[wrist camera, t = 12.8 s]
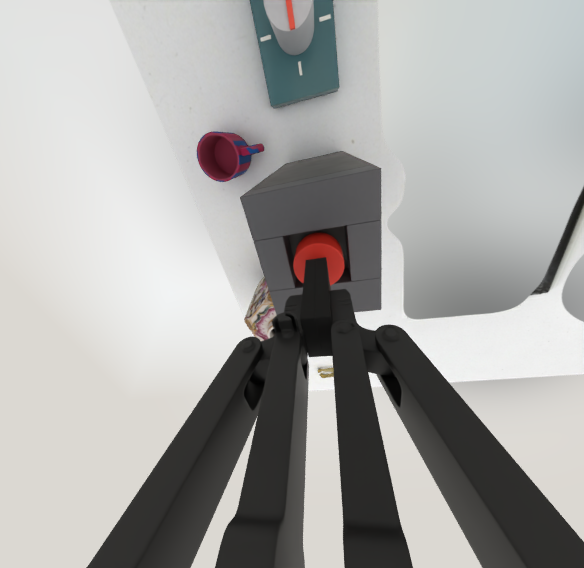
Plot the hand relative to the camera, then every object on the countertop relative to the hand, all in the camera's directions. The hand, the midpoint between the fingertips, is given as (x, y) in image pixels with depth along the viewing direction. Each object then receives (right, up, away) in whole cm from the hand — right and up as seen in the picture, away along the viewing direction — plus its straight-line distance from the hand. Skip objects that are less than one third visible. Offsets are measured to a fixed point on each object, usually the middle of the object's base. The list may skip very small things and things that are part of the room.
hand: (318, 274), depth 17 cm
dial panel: (-1, +34, +15) cm, 37 cm away
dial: (-2, +32, +12) cm, 34 cm away
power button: (0, +2, +3) cm, 3 cm away
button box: (+3, +16, +25) cm, 30 cm away
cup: (-11, +22, +23) cm, 34 cm away
